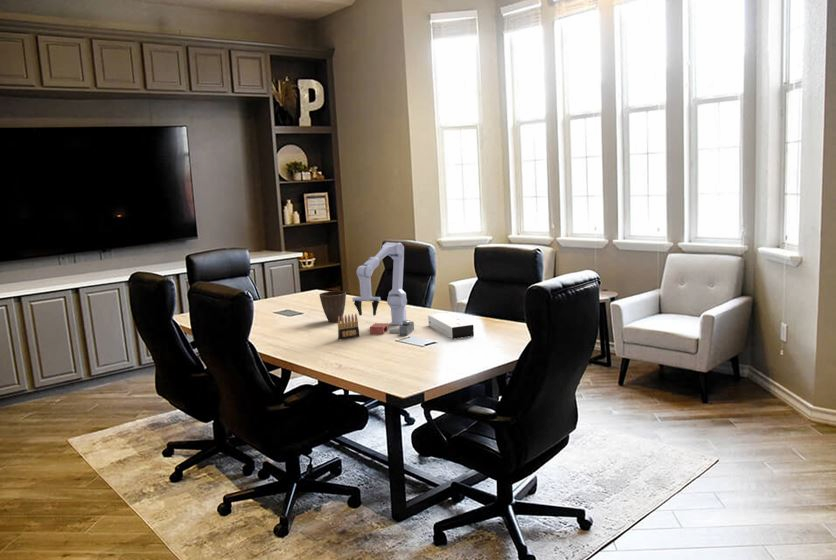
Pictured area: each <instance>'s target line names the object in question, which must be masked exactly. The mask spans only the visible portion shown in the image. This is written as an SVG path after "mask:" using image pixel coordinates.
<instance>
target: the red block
mask: <svg viewBox="0 0 836 560" xmlns="http://www.w3.org/2000/svg"><path fill="white" fill-rule="evenodd" d="M388 331H389V324H388V323H383V322H382V323H381V322H379V323H377V322H375V323H373V324H372V325H370V326H369V334H370V335H385V332H388Z"/></svg>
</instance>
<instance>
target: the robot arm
mask: <svg viewBox="0 0 836 560" xmlns="http://www.w3.org/2000/svg"><path fill="white" fill-rule="evenodd" d="M387 256H389V257H390V258H391V260H393V263H392V264H393V269H392V286H391V287H392V289H391V290H390V291H388V296H387V300H386V304H387V305H388V306H389V308H390V317H391V322H390V323H389V324H388V326H389V325H392V326H395V325H396V326H397V325H398V326H401V325H402V324H403V322H402V321H405V320H407V310H406V306H407V304H408V299H407V293H406V291H404V290H403V282H404V279H403V278H404V265H405V264H404V263H405V261H404V260H405V246H404V244H402V242H389V241H387V242H385V243H384V244H382V248H381V249H380V250H379V251H378V252H377V254H376V255H375V256H370V257H369V258H368V260H366V261H365V262H364V263H363V264H362V265H359V266H357V269H356V271H355V272H356V275H357V278H358V281H359V293H360V296H355V297H351V298H352V302H353V305H354V306H355V308H356V310H357V312H358V315H359V316H362V314H363V312H362V302H371V306H372V315H373V316H374V317H375V316H376V315H377V309H378V307H379V304H380V302H381V300H382V299H381V296H372V295H373V294H372V281H371V277H372V275H373V274H374V273H373V272H374V270H376V269H377V268H378V267H379V266H380V262H381V261H382V260H384V258H385V257H387Z"/></svg>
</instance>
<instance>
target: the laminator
mask: <svg viewBox="0 0 836 560" xmlns="http://www.w3.org/2000/svg"><path fill="white" fill-rule="evenodd" d="M427 318H428V326H429V327H430V328H432V329H433V330H436V331H437V332H438V333H441V334H442V333H443V335H444V334H445V336H446V337H448V338H449V337H450V339H451V338H452V339H451V340H454V339H455V338H456V339H462V338H461V337H463V338H468V336H470V337H474V335H475V332H474V330H475V329H474V328H475V327H474V324H472V323H470V322H468V321H466V320H464V319H462V318H459V317H458V316H455V315H453V314H452V313H449V312H439V313H433V314H428V315H427Z"/></svg>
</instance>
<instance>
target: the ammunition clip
mask: <svg viewBox="0 0 836 560" xmlns="http://www.w3.org/2000/svg"><path fill="white" fill-rule="evenodd" d="M337 335H338V336H337V337H338V340H347V339H353V338H360V336H361V335H360V329H359V321H358V314H357V313H355V314H354V315H353V313H352V314H351V315H350V314H348V316H347V315H346V314H345V315H343V316H342V317H341V321H340V317H339V316H338V322H337Z"/></svg>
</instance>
